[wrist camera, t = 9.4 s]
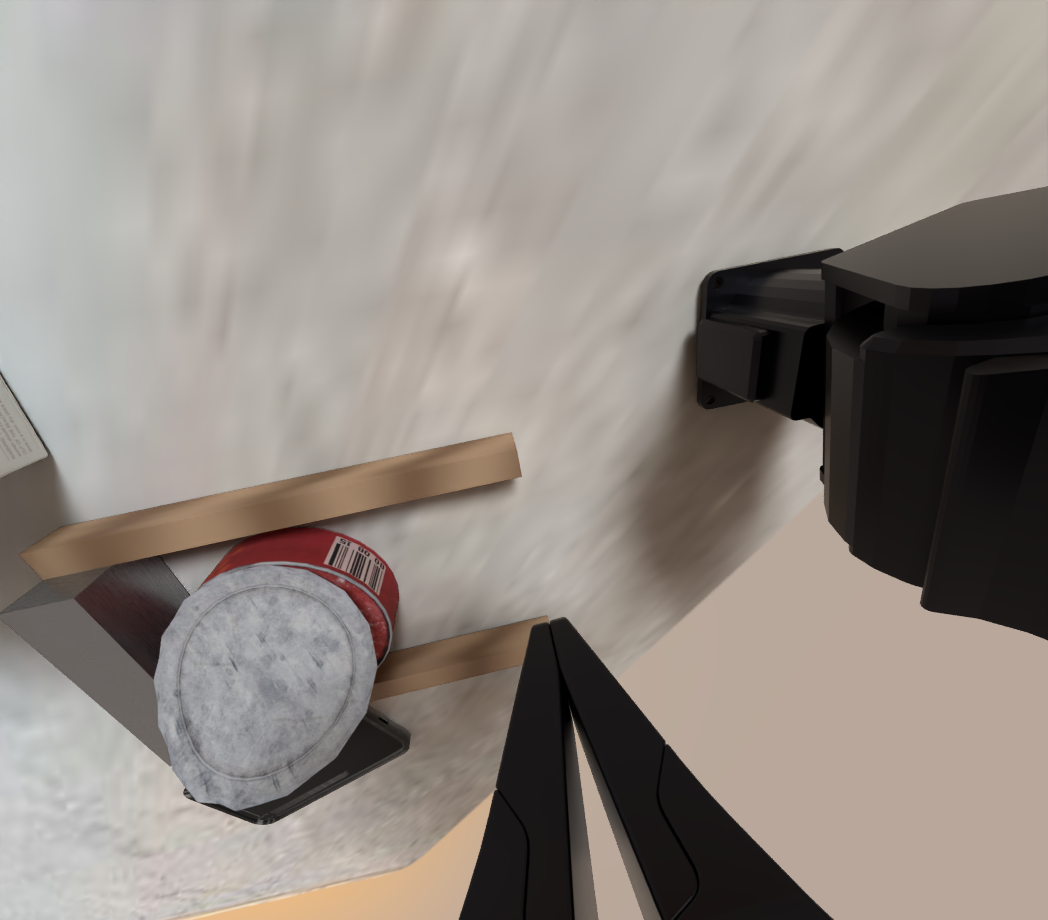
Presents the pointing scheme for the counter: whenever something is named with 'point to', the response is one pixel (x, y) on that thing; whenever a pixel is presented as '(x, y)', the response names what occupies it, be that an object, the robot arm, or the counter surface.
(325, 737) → the canned food
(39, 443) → the supplement box
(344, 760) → the phone
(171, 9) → the counter surface
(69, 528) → the guide channel
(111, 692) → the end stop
